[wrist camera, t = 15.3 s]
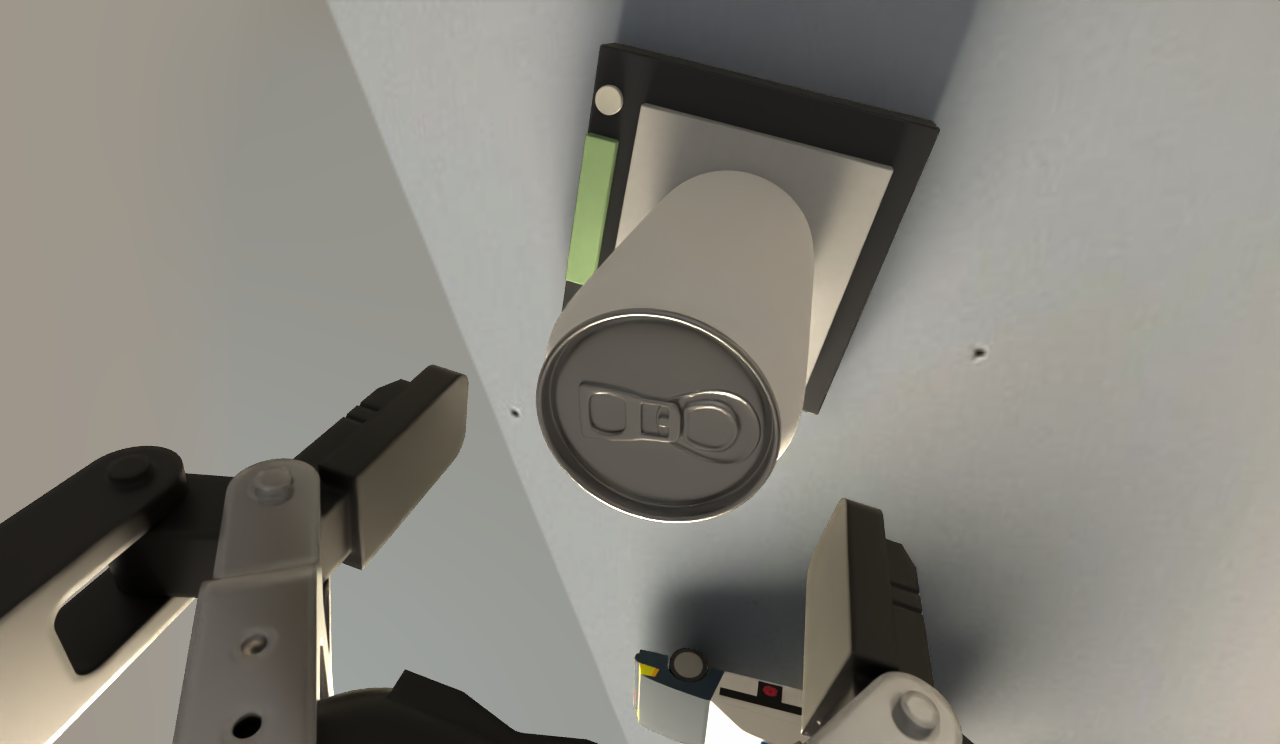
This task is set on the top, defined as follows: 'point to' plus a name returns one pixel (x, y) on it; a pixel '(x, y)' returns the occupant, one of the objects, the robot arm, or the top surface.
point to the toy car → (712, 702)
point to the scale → (757, 144)
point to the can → (685, 353)
